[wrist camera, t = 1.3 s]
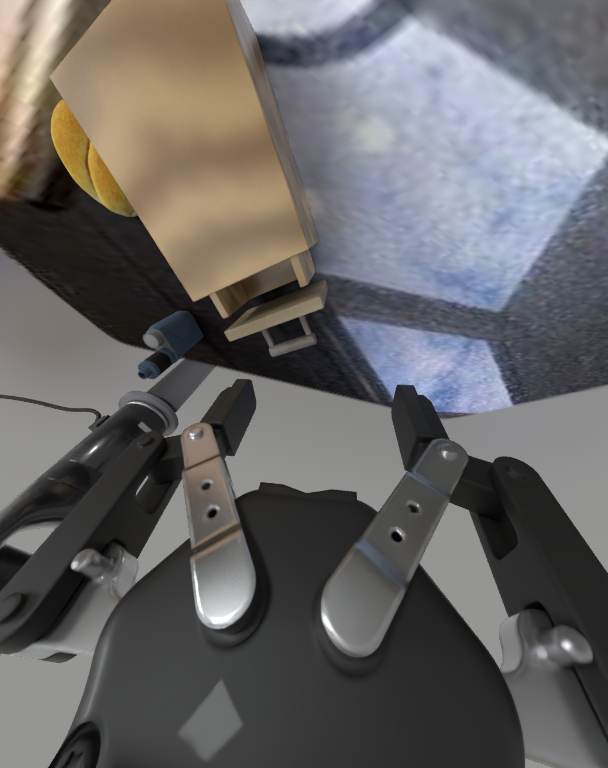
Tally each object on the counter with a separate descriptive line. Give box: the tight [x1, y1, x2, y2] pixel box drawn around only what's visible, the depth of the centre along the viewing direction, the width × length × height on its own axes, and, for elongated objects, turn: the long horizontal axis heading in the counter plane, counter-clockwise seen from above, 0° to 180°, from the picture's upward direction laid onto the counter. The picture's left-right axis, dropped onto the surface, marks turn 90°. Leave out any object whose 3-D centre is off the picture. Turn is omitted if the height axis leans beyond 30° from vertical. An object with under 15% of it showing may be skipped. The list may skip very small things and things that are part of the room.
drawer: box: [209, 249, 328, 357], centre depth 25 cm, size 19×11×8 cm, turn 22°
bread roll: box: [51, 99, 138, 217], centre depth 24 cm, size 8×9×4 cm
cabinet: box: [50, 0, 319, 302], centre depth 21 cm, size 16×13×10 cm
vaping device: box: [138, 311, 203, 379], centre depth 31 cm, size 3×5×12 cm, turn 15°
